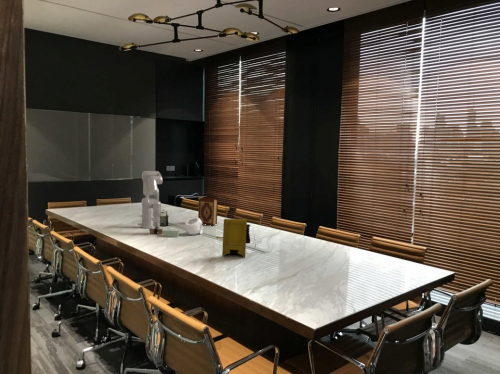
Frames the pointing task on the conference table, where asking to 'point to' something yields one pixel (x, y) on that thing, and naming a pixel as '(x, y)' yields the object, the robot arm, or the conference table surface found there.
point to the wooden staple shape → (160, 231)
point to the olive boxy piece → (235, 236)
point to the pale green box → (170, 232)
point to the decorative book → (208, 210)
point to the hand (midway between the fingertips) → (156, 232)
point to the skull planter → (193, 226)
